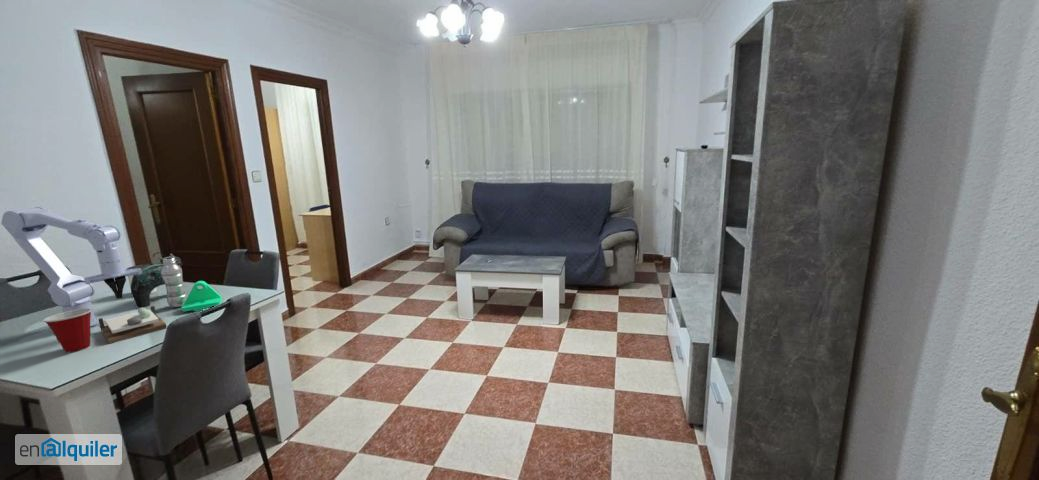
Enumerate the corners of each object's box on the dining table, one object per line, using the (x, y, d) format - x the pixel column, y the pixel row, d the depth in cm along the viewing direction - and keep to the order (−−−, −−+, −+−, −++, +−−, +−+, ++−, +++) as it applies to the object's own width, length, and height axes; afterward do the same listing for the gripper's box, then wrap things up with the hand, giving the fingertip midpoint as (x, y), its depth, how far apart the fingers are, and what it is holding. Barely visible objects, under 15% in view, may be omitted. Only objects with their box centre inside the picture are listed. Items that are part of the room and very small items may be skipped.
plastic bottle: (192, 305, 170) (182, 257, 165) (172, 310, 164) (161, 261, 160) (185, 302, 173) (176, 255, 169) (165, 307, 168) (155, 259, 163)
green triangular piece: (182, 314, 161) (176, 289, 158) (186, 308, 167) (181, 283, 165) (220, 308, 166) (215, 283, 164) (222, 302, 173) (217, 278, 171)
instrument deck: (105, 321, 147) (102, 312, 146) (149, 311, 156) (147, 302, 155) (112, 333, 138) (110, 324, 137) (159, 321, 147) (157, 312, 146)
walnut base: (101, 331, 147) (97, 318, 146) (156, 317, 158) (153, 305, 157) (108, 343, 137) (105, 330, 136) (166, 328, 149) (164, 315, 147)
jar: (134, 292, 186) (127, 266, 183) (158, 288, 190) (152, 263, 188) (131, 298, 179) (124, 271, 176) (155, 293, 183) (149, 267, 181)
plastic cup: (94, 337, 142) (85, 304, 139) (106, 344, 137) (97, 310, 134) (48, 351, 133) (37, 315, 130) (58, 359, 128) (48, 322, 125)
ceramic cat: (180, 291, 187) (170, 247, 182) (192, 291, 185) (183, 248, 181) (131, 308, 168) (120, 259, 163) (144, 309, 166) (133, 260, 162)
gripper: (82, 268, 138) (92, 306, 141) (140, 258, 149) (148, 294, 152) (79, 264, 142) (89, 302, 146) (135, 255, 153) (144, 290, 157)
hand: (119, 297), depth 149 cm, fingers closed
